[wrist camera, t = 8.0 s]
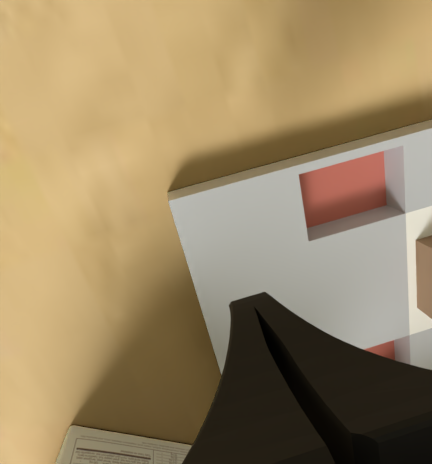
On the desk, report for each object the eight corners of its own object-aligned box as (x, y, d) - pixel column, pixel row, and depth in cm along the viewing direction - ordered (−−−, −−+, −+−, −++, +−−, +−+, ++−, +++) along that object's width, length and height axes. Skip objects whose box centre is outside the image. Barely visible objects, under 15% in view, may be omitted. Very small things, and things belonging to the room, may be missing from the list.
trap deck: (488, 103, 21) (584, 102, 16) (475, 338, 27) (540, 386, 22) (167, 192, 19) (169, 218, 15) (235, 415, 26) (251, 482, 21)
